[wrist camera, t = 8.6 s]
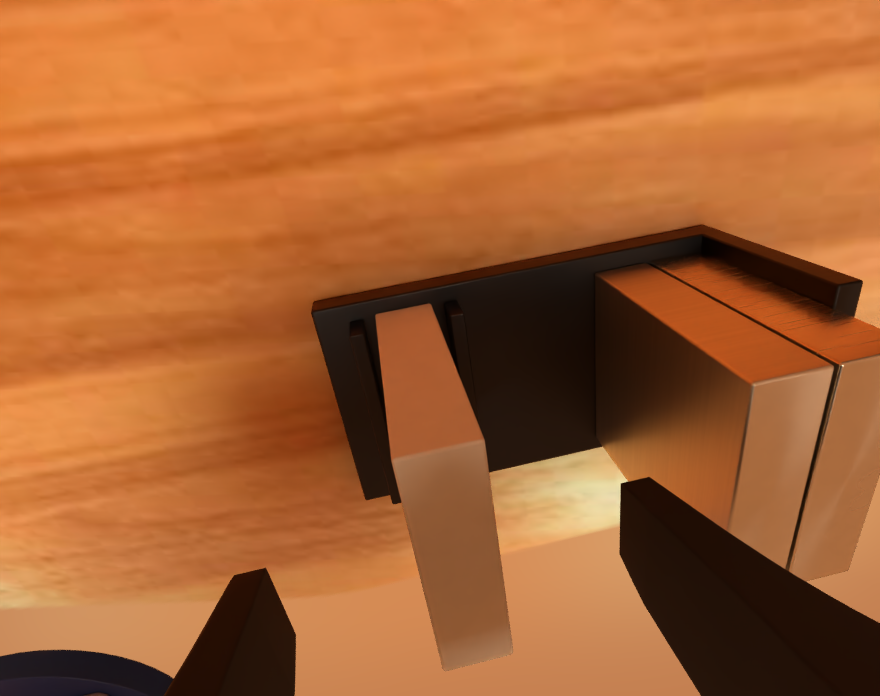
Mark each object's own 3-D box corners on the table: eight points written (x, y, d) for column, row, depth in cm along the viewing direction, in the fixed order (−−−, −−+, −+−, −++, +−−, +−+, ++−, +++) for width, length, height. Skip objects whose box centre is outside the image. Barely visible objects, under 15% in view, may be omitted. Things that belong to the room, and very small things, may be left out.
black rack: (704, 224, 15) (963, 314, 9) (687, 412, 19) (868, 579, 12) (312, 301, 14) (280, 463, 8) (364, 485, 18) (373, 707, 11)
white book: (430, 302, 14) (484, 439, 8) (458, 466, 17) (514, 655, 11) (374, 313, 14) (390, 460, 8) (411, 476, 17) (443, 673, 11)
